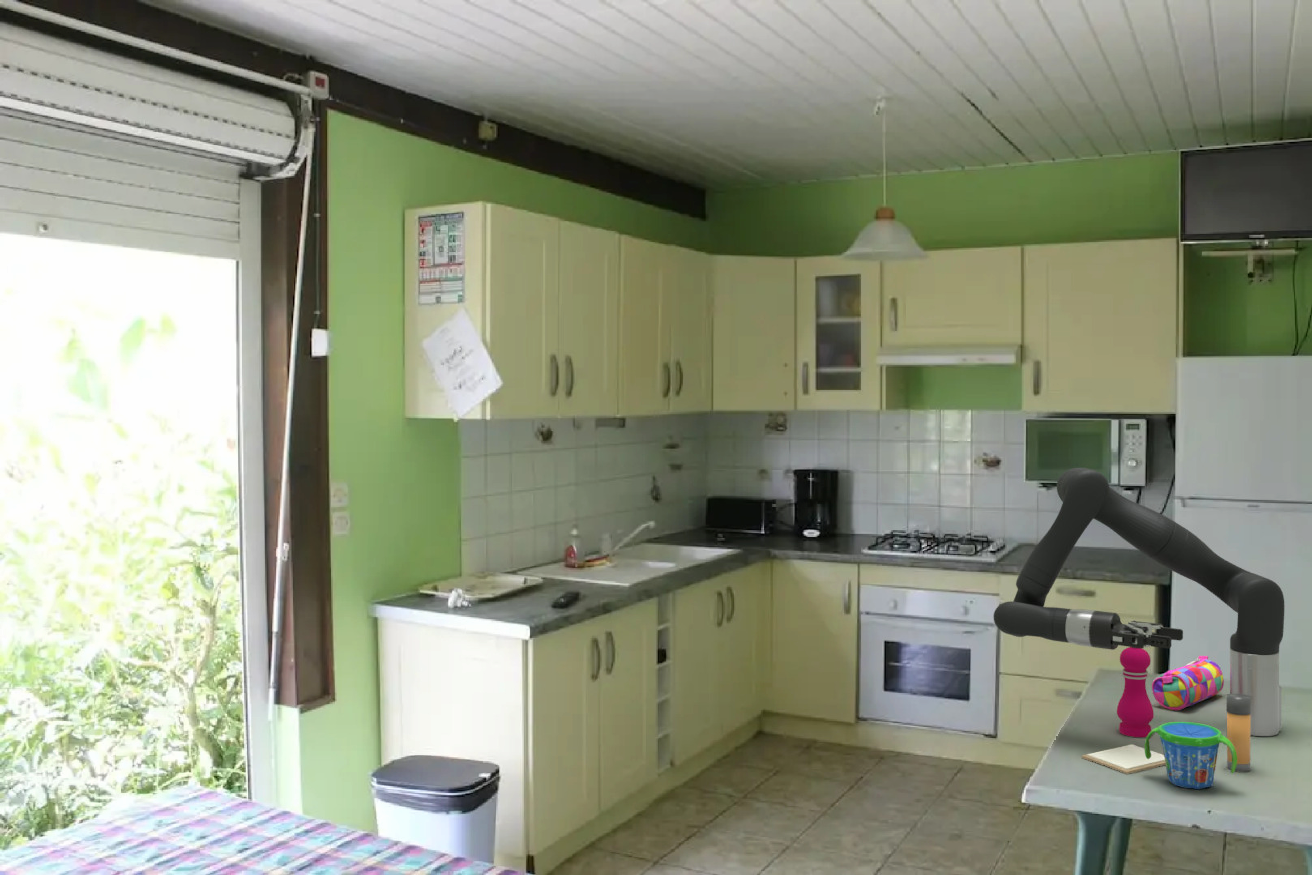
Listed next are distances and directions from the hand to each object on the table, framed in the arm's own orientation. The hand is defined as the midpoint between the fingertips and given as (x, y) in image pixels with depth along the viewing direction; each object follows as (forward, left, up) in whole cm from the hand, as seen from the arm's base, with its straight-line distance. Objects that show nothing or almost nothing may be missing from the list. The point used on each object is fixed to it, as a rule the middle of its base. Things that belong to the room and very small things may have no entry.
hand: (1176, 638), depth 222 cm
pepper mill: (-6, -15, -24) cm, 29 cm away
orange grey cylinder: (-5, +10, -24) cm, 26 cm away
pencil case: (-36, -26, -24) cm, 50 cm away
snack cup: (+10, +11, -24) cm, 28 cm away
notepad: (+9, -3, -24) cm, 26 cm away
